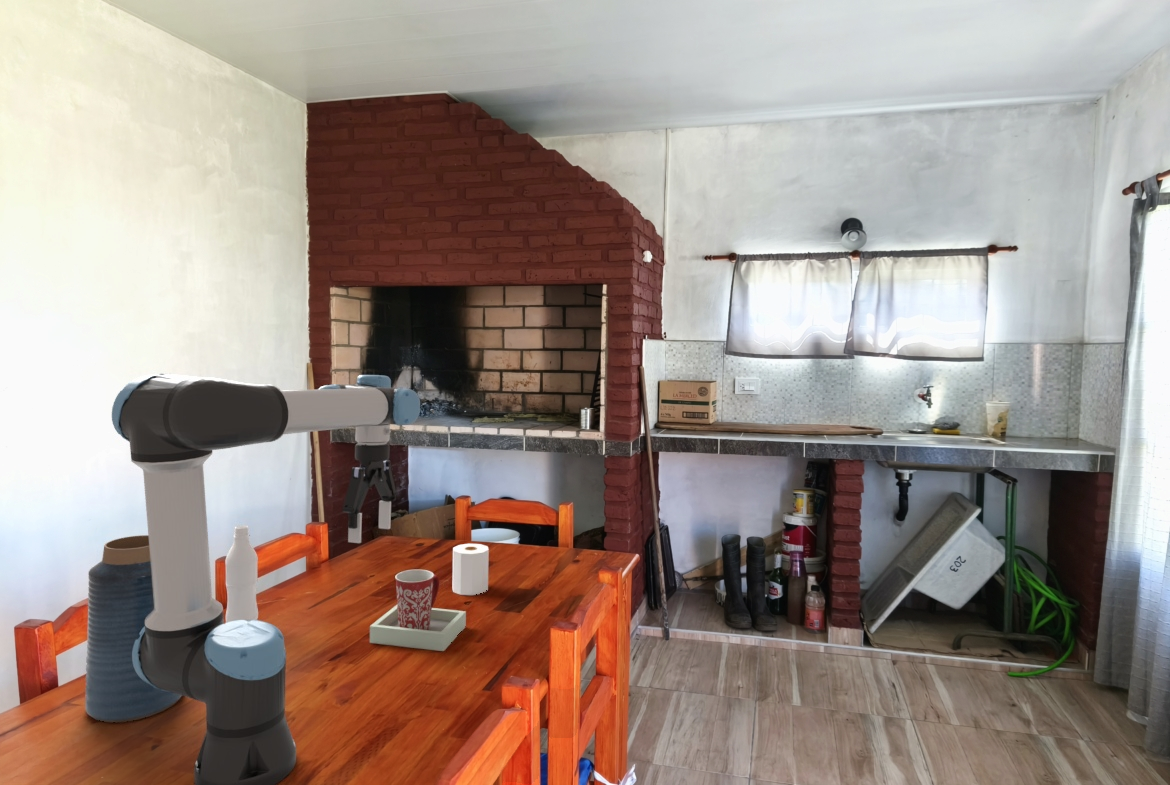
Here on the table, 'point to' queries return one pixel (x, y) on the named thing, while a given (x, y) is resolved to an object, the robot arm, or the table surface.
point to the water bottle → (241, 578)
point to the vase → (120, 634)
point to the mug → (416, 598)
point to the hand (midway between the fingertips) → (370, 535)
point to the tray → (419, 630)
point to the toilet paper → (470, 569)
